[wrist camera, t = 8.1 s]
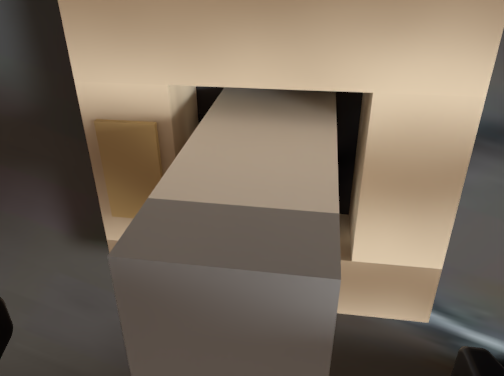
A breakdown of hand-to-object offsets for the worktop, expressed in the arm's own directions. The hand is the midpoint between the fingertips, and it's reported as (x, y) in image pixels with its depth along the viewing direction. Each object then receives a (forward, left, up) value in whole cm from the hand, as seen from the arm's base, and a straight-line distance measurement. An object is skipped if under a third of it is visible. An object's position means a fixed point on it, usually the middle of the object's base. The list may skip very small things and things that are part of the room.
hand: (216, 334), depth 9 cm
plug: (0, 0, -10) cm, 10 cm away
